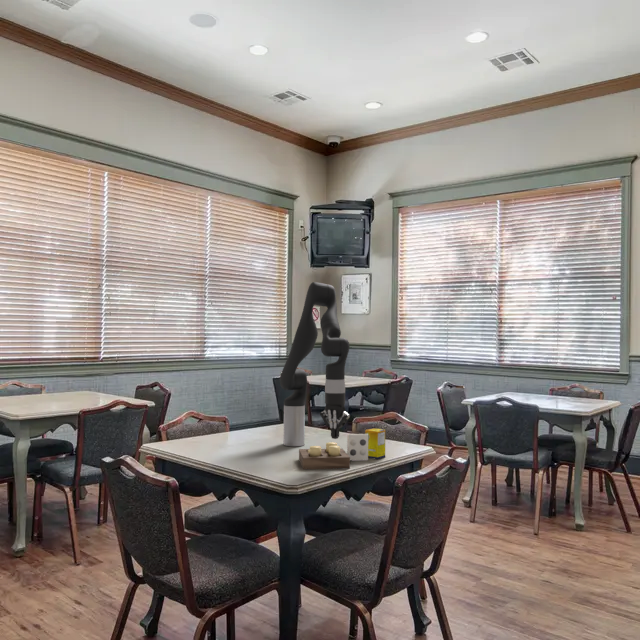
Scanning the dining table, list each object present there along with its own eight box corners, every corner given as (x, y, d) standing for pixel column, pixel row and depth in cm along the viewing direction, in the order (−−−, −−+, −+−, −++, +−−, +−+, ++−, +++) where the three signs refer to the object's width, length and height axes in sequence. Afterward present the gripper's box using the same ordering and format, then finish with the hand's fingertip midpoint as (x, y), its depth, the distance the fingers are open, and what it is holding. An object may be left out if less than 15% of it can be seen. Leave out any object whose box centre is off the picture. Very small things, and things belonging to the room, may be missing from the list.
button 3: (325, 450, 232) (325, 442, 232) (336, 450, 233) (336, 442, 233) (326, 452, 228) (326, 444, 228) (337, 452, 229) (337, 444, 229)
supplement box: (373, 455, 244) (373, 428, 244) (385, 457, 240) (385, 429, 240) (364, 457, 239) (364, 429, 239) (377, 459, 235) (377, 431, 236)
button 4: (327, 454, 225) (327, 445, 225) (339, 454, 226) (339, 445, 226) (329, 456, 221) (329, 447, 221) (340, 456, 222) (340, 447, 222)
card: (347, 460, 233) (347, 434, 234) (367, 459, 234) (367, 433, 235) (347, 460, 233) (347, 434, 233) (368, 460, 234) (368, 434, 234)
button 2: (309, 454, 224) (309, 445, 225) (320, 454, 225) (320, 445, 225) (310, 456, 220) (310, 448, 220) (321, 456, 221) (321, 447, 221)
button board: (299, 459, 234) (299, 449, 234) (342, 458, 236) (342, 448, 236) (303, 469, 217) (303, 458, 217) (349, 468, 219) (349, 457, 219)
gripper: (355, 391, 223) (355, 439, 222) (327, 389, 231) (326, 435, 231) (343, 393, 217) (343, 441, 216) (314, 391, 225) (314, 437, 225)
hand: (334, 438), depth 224 cm, fingers closed
